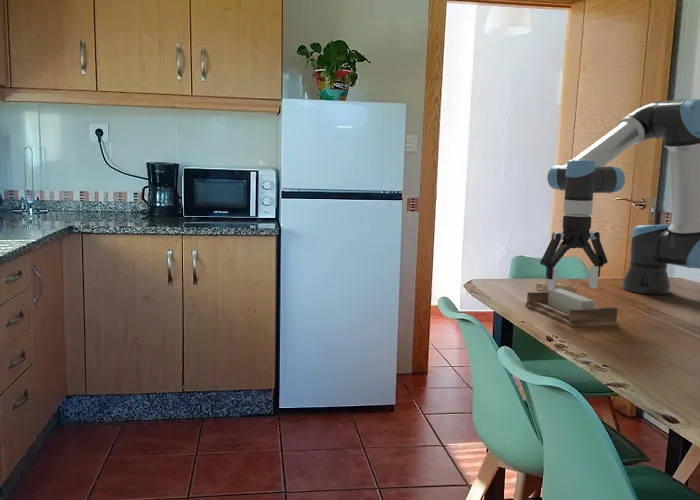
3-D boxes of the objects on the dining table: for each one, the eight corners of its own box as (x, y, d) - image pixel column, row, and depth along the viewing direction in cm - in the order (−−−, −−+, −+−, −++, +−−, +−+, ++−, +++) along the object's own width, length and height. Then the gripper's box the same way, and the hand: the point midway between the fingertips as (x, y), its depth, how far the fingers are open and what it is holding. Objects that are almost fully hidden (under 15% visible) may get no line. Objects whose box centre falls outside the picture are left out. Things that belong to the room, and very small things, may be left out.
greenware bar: (559, 304, 184) (560, 288, 184) (593, 318, 169) (594, 300, 168) (547, 305, 183) (548, 288, 183) (580, 319, 168) (582, 301, 167)
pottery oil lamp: (578, 300, 194) (572, 282, 191) (540, 308, 199) (533, 290, 196) (577, 286, 201) (571, 268, 199) (540, 294, 206) (534, 277, 204)
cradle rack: (525, 305, 186) (526, 291, 185) (565, 304, 190) (566, 290, 189) (573, 327, 163) (574, 310, 162) (618, 325, 167) (619, 308, 166)
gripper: (606, 213, 179) (601, 284, 182) (530, 214, 173) (526, 288, 176) (624, 215, 172) (618, 289, 175) (545, 217, 165) (540, 294, 169)
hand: (572, 289), depth 176 cm, fingers open, 13 cm apart
